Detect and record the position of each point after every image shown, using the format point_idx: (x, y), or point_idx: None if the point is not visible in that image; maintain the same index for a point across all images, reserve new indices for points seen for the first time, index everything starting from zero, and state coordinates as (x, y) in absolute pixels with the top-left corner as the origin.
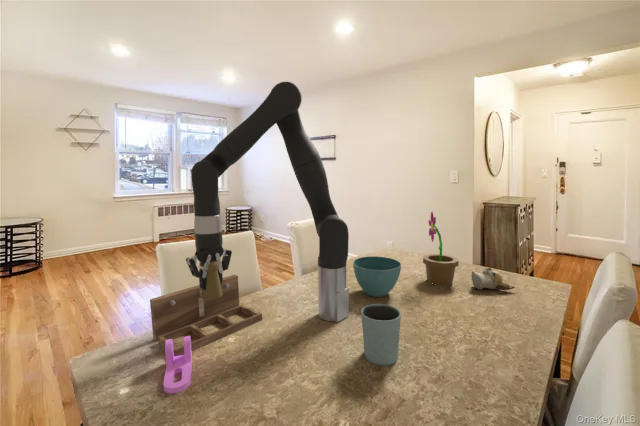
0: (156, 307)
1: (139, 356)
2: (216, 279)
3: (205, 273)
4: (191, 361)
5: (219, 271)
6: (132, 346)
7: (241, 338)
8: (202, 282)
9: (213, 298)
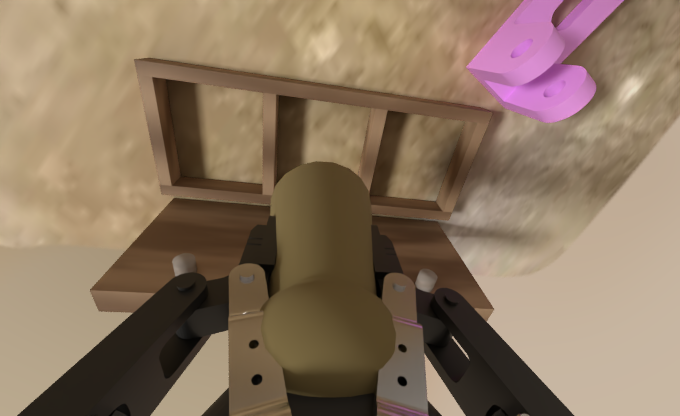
0: (471, 287)
1: (501, 193)
2: (317, 230)
3: (391, 298)
4: (492, 40)
5: (265, 279)
6: (472, 242)
7: (299, 11)
8: (394, 260)
9: (347, 170)
